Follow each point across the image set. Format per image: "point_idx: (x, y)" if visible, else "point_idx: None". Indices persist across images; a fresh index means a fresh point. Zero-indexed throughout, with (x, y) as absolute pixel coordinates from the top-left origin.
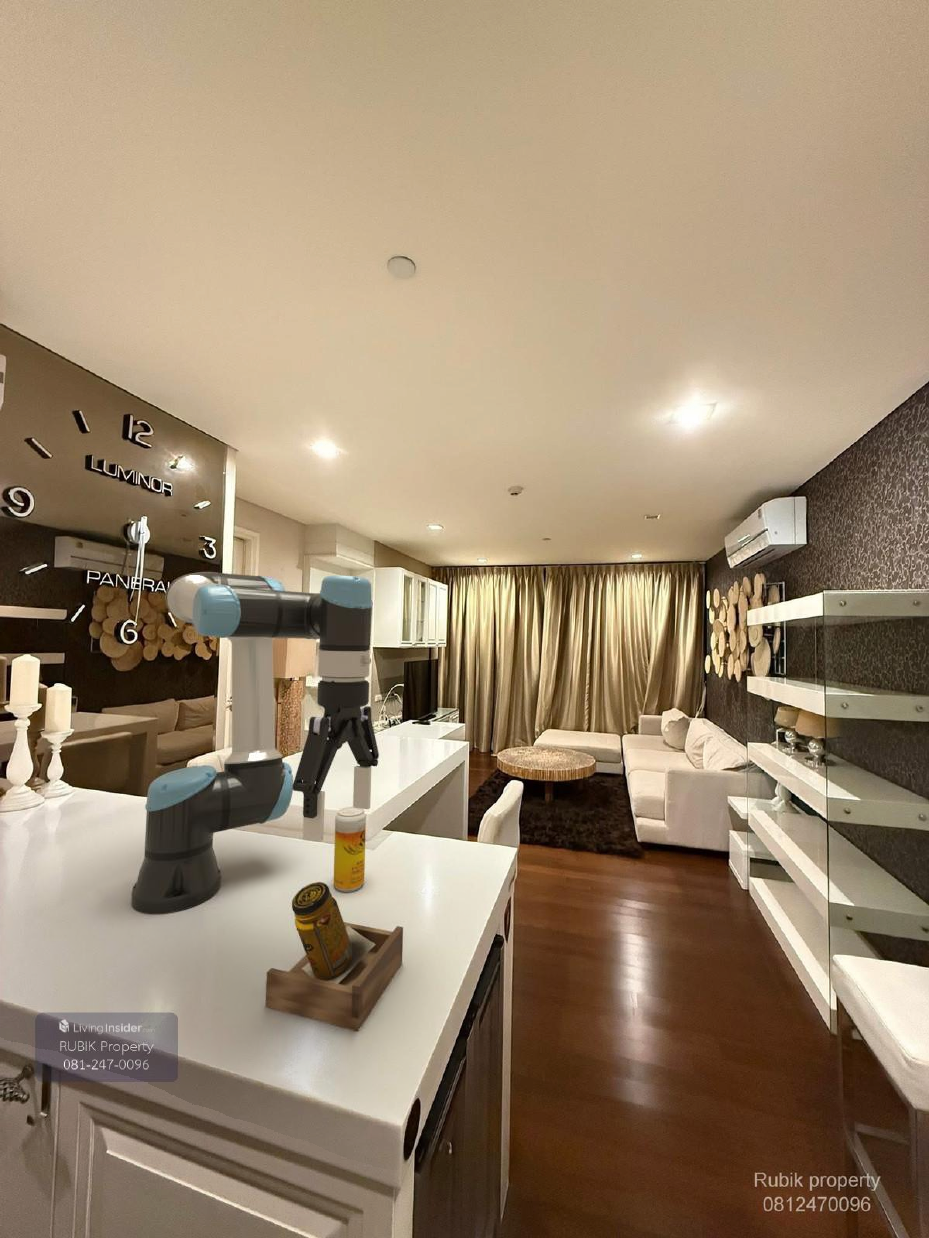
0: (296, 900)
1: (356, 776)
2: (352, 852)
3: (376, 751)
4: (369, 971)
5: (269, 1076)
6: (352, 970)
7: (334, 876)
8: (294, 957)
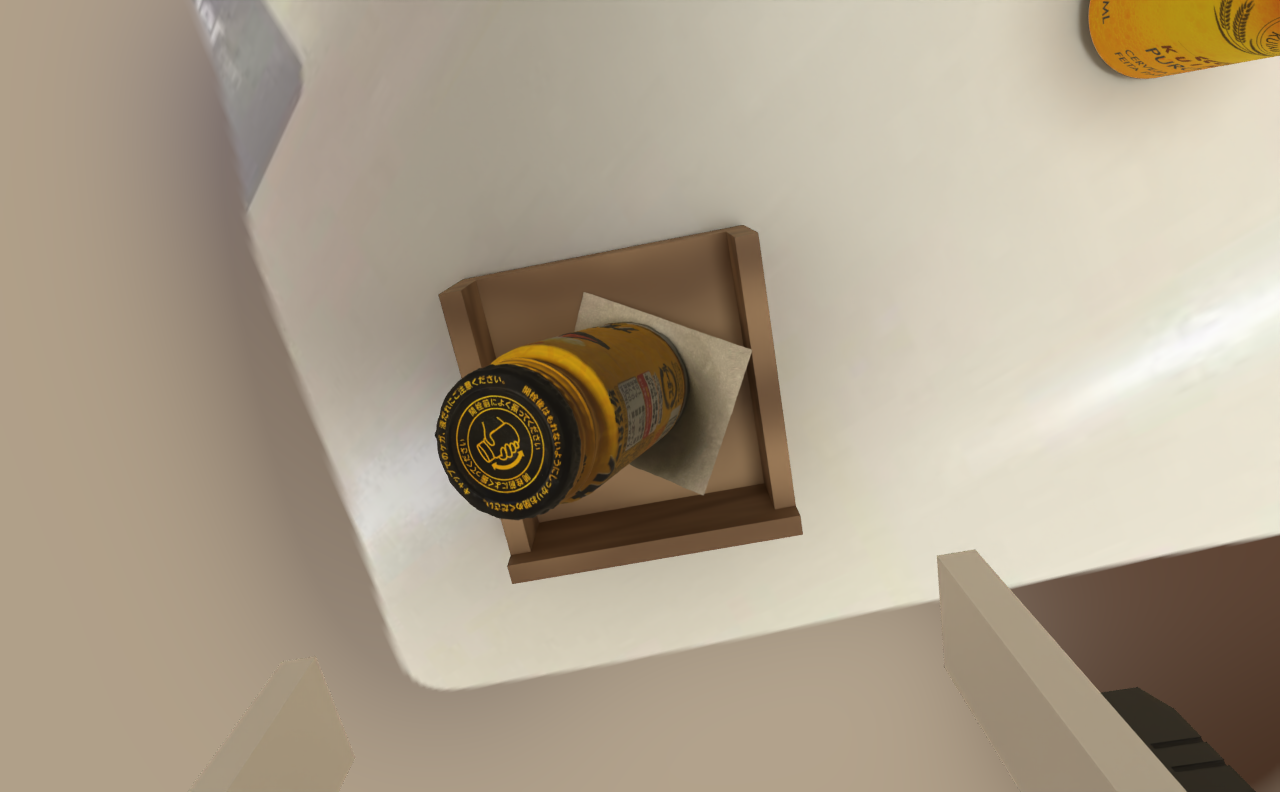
0: (466, 399)
1: (1090, 777)
2: (1229, 30)
3: None
4: (574, 570)
5: (337, 451)
6: None
7: None
8: (655, 184)
